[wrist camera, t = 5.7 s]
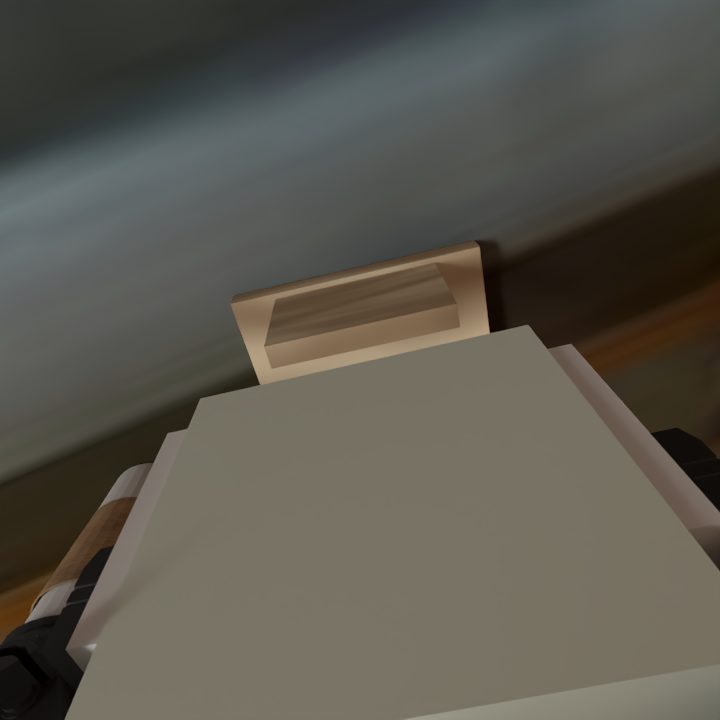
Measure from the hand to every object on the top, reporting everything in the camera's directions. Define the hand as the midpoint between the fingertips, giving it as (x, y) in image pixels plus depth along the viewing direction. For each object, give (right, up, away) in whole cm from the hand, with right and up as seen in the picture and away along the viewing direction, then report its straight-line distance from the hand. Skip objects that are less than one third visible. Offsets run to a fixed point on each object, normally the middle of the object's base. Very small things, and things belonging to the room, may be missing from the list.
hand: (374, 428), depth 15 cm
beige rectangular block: (0, +1, +1) cm, 1 cm away
